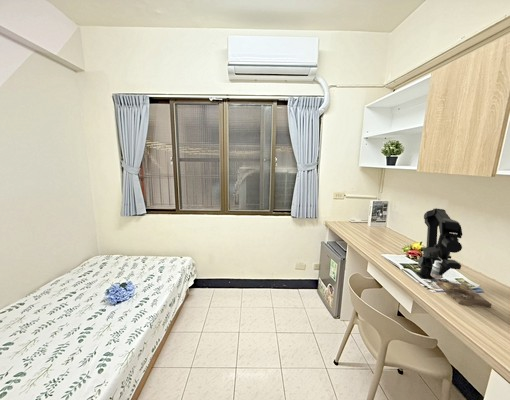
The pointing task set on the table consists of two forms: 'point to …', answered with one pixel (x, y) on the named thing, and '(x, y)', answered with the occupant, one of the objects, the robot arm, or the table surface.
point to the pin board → (471, 295)
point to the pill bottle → (436, 270)
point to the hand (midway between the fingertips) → (437, 272)
